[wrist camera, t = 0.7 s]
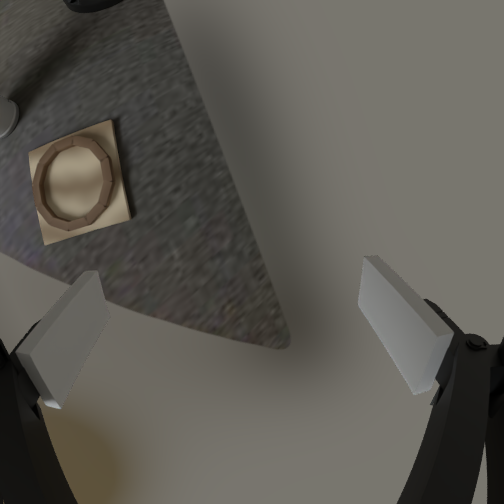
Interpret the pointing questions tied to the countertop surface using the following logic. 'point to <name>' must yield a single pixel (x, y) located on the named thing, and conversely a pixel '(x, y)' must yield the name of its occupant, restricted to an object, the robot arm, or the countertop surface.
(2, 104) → the travel mug
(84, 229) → the mug stand
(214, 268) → the countertop surface
